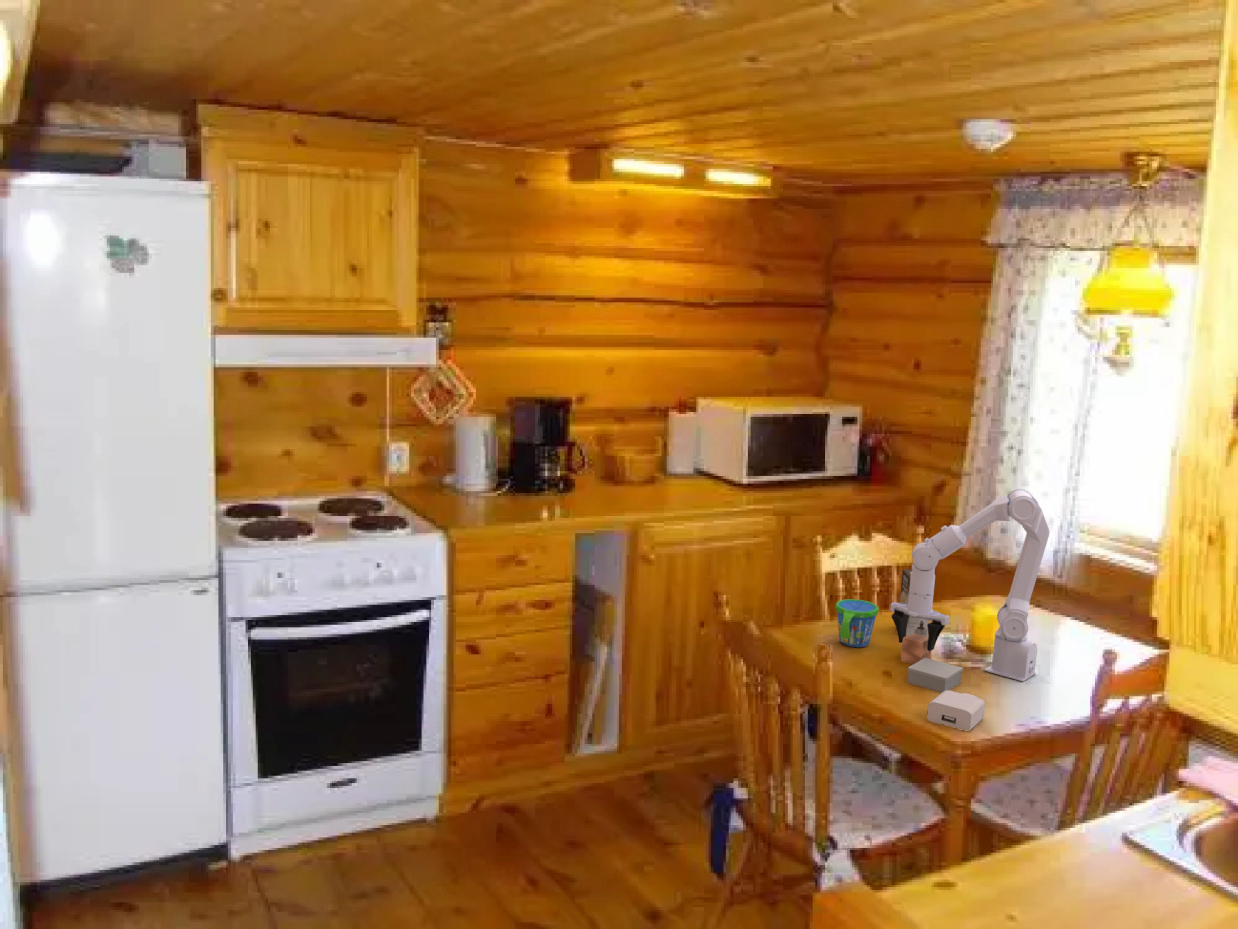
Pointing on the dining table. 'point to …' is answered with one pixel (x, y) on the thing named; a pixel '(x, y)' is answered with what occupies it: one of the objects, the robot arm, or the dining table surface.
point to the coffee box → (914, 623)
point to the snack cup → (855, 621)
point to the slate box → (934, 675)
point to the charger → (956, 710)
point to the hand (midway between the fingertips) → (916, 645)
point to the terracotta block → (914, 648)
